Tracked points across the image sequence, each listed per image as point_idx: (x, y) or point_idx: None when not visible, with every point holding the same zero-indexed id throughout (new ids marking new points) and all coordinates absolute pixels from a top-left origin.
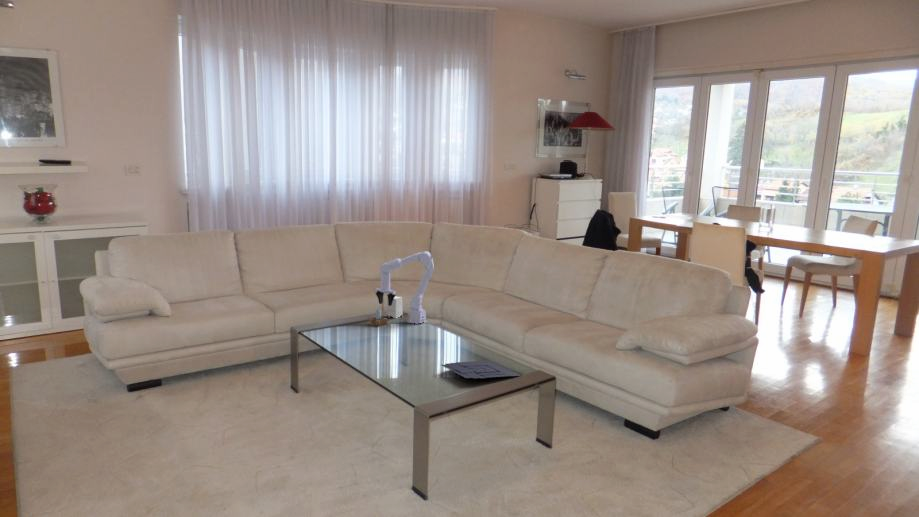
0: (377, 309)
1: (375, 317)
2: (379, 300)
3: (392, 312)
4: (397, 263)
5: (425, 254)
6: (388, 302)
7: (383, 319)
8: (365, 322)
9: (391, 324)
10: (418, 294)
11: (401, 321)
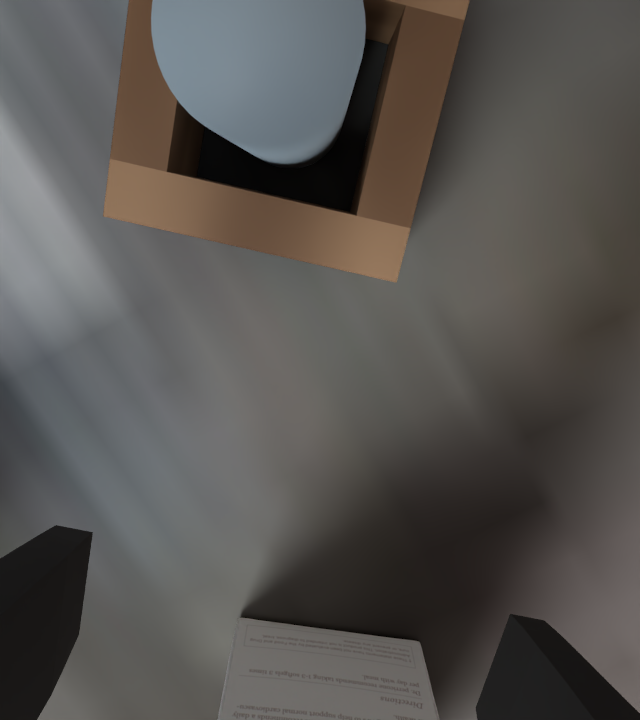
0: (330, 77)
1: (408, 169)
2: (586, 704)
3: (299, 701)
4: None
5: None
6: (20, 586)
7: (128, 76)
8: (605, 141)
9: (76, 243)
10: None
11: (52, 507)
